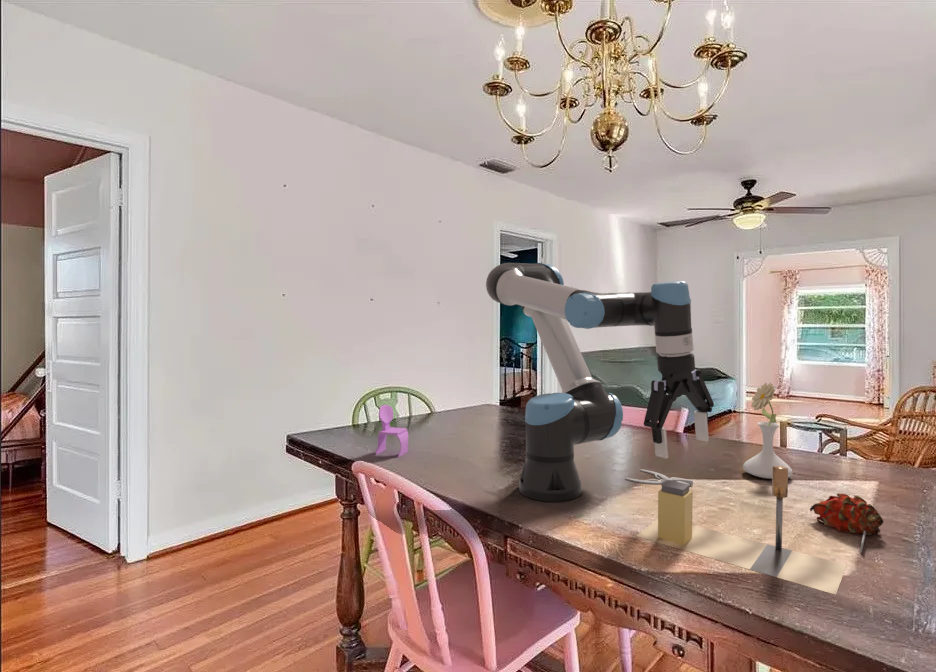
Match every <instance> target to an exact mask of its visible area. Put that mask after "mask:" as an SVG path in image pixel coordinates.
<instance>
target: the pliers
mask: <svg viewBox="0 0 936 672" xmlns="http://www.w3.org/2000/svg"><path fill="white" fill-rule="evenodd" d="M639 471H640V472H642V473H646V474H650V475H654V477H655V479H654V478H651V479H636V478H631V477H625V479H624V480H626V481H629V482H634V483H639V484H645V485H663V484H664V483H666V482H667V481H671V482H676V483H681V484H686V485H689V487H690V486H691V487H693V486H694V480H692V479H687V478H683V477H682V478H681V477H676V476H675V477H674V476H671V477H668V476H667V475H665V474H662V473H660V472H656V471H652V470H647V469H644V468H643V469H642V468H641V469H639Z"/></svg>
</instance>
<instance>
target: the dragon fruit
mask: <svg viewBox="0 0 936 672" xmlns="http://www.w3.org/2000/svg"><path fill="white" fill-rule="evenodd" d="M812 511H813V512H814V514H816V515H819V516H817V517H816V521H817V522H818V523H820V524H821V525H823V526H824V527H832V528H835V529H837V531H838V533H841V532H845V533H847V534H855V535H856V534H861V535H863V533H864V531H866V533H865V535H866V536H868V535H869V536H870V535H875V536H877V535H878V534H879V533H881V532H882V531H881V529H880V527H881V526H882V525H884V520H883V517H882V516H881V514H880V513H879V512H878V511H877V509H876V508H875V507H874V506H873V505H872V504H869V503H868V502H867V501H866V500H865V499H863V498H862V497H861V496H859V495H856V494H855V495H853V497H851V496H849V494H847V493H841V492H839V493H836V495H829V496H828V497H827V499H826V500H822V501H819V502H817V503H814V504H813V505H811V507H810V509H809V512H812Z"/></svg>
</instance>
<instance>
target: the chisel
mask: <svg viewBox="0 0 936 672" xmlns="http://www.w3.org/2000/svg"><path fill="white" fill-rule="evenodd" d="M788 480H789V477H788V468H786V467H783V466H773V472H772V479H771V481H772V482H771V483H772V484H771V495H772V496H774V497H775V499H776V501H775V502H776V505H775V507H776V508H775V511H776V512H775V541H774V542H775V545H774V546H775V549H776V550H778V551H781V550H782V548H783V517H784V516H783V513H784V511H783V509H784V507H783V505H784V498H788V496H789V495H788V492H789V491H788V489H789V485H788V483H789V481H788Z"/></svg>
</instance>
